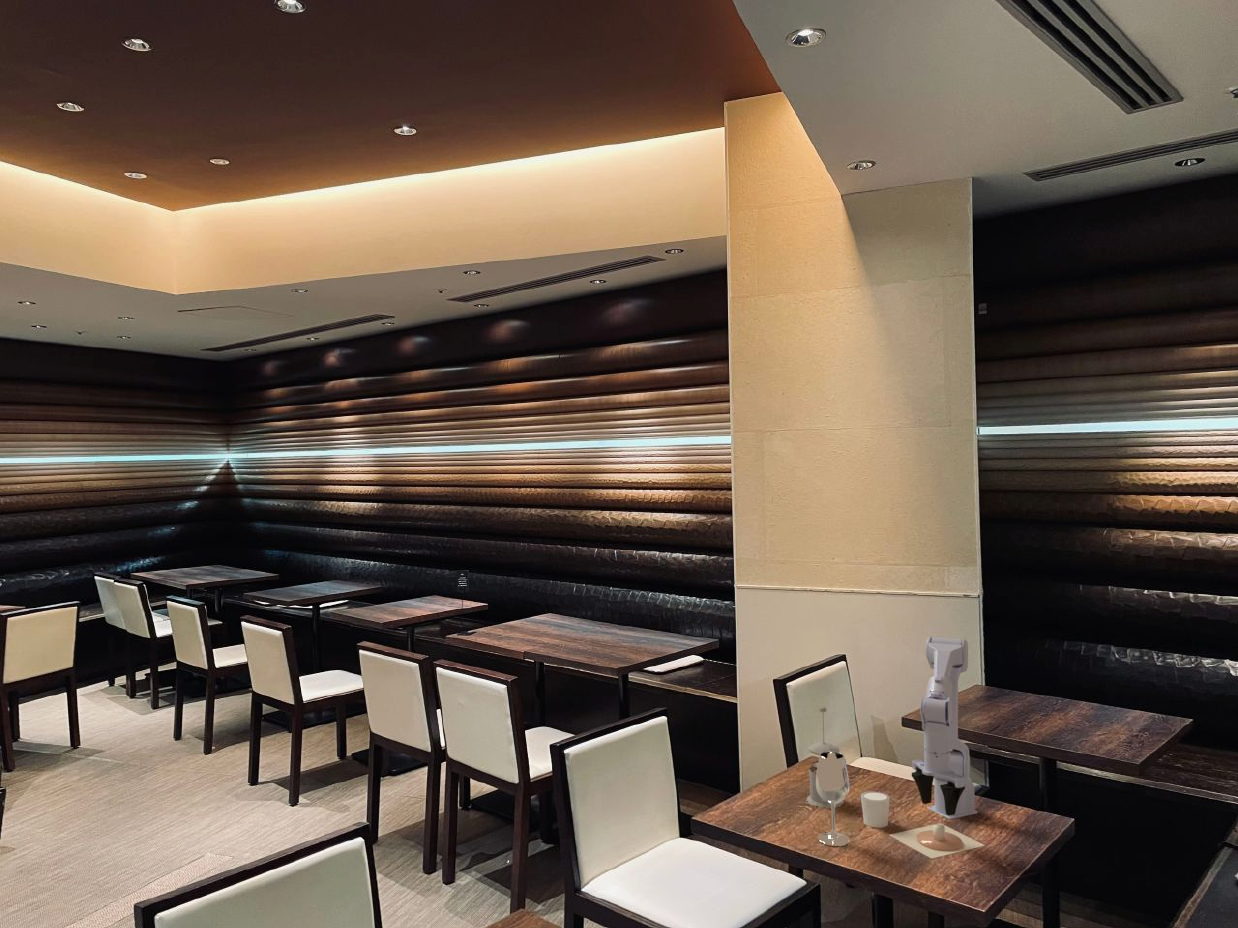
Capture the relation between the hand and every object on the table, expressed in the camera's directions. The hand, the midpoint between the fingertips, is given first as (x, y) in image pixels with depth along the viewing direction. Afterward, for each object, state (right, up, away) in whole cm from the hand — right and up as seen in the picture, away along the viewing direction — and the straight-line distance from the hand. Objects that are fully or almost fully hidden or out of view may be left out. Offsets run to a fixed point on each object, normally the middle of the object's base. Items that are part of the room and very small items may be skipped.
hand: (938, 808), depth 197 cm
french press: (-19, -9, +28) cm, 35 cm away
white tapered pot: (-11, -9, +11) cm, 18 cm away
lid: (0, -8, 0) cm, 8 cm away
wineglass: (-24, -9, +3) cm, 25 cm away
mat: (0, -8, +1) cm, 8 cm away
